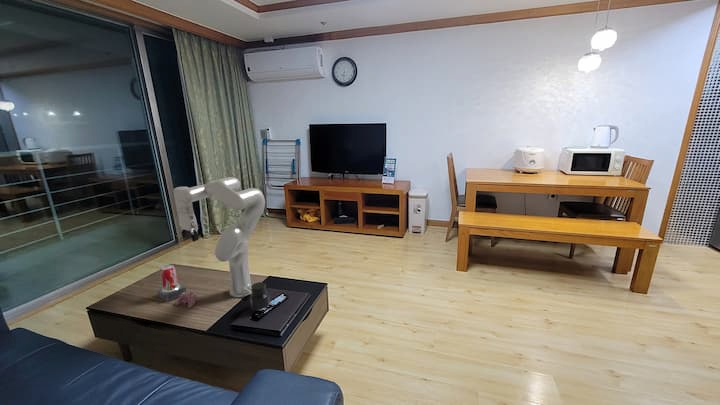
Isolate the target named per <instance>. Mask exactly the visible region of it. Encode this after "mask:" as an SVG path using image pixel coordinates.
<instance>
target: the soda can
mask: <svg viewBox="0 0 720 405" xmlns="http://www.w3.org/2000/svg"><path fill="white" fill-rule="evenodd" d="M159 273H160V274H159V275H160V280H161V284H162V286H163V288H164V289H166V290H171V289H174V288H176V287H177V286H178V283H179V279H178V274H177V270H176V267H175V266H174V265H173V264H166V265H163V266H161V267H160V271H159Z"/></svg>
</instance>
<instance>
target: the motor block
mask: <svg viewBox="0 0 720 405" xmlns="http://www.w3.org/2000/svg"><path fill="white" fill-rule="evenodd" d="M156 292H157V297H158V298H160V299H161V300H163V301H164V302H166V303H169V302H171V301H173V300H175V299H178V298H179V296H180V295H181V294H182V293H184V292H187V288H186V286H185V285H183V284H181V283H179V282H178V286H177V287H176V288H174V289H171V290H166V289H164V288H163V285H162V286H161V287H160V288H158V289H157V290H156Z"/></svg>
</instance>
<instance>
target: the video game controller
mask: <svg viewBox="0 0 720 405" xmlns="http://www.w3.org/2000/svg"><path fill="white" fill-rule="evenodd" d="M197 299H198V297H197V295H196V294H194V292H190V291H186V292H184V293H182V294H181V295H180V296H179V297H178V298H176V301H175V306H180V304H181V303H183V304H187V305H188V307H187V308H188V309H191V308H192V307H193V306H194V305H195V303H196V301H197Z"/></svg>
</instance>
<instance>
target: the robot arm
mask: <svg viewBox="0 0 720 405" xmlns="http://www.w3.org/2000/svg"><path fill="white" fill-rule="evenodd" d="M240 189H241V182H240V180H239V179H238V178H236V177H233V176H228V177H224V178H220V179H216V180H212V181H208V182H207V183H205V184H204V183H203V184H199V185H195V186H191V187H188V186H177V187H175V188H173V195H174V196H173V197H174V201H175V202H174V203H175V205H176V211H177V215H178V225H179V229H180V232H181V235H182V236H181V237H182V239H184V240H185V239H187V238H189V237H190V236H191V240H192V241H191V242H197V241H199V225H198V222H197V218H196V215H195V211H194V206H193V202H197V201H200V200H201V201H202V200H204V199H208V198H216V199H217V200H218V201H221V203H223V204H224V205H226V206H228V207H229V208H231V209H232V210H235V211H242V210H244V211H243V212H242V213H241V215H240V218H239V220H238V221H237V222H236V223H233V224H231V225H230V226H227V228H225V229H224V230H223V231H222V232H221V235H220V237H219V239H218V241H217V243H216V246H215V249H214V255H215V257H216V260H219V261H220V262H224V263H225V262H228V267H229V273H230V281H231V289H230V290H229V295H230V296H231V297H233V298H243V297H246V296H249V295H252V291H251V286H252V285H253V284H252V282H251V274H250V266H249V265H250V264H249V255H248V253H249V242H248V239H249V238H250V237H252V234H253V233H254V231H255V228H256V226H257V225H258V222H259V221H260V218H261V217H262V216H263V213H264V211H265V208H266V207H265V206H266V200H265V199H266V198H265V196H264V194H263V192H262V191H261V190H260V189H259V188H255V187H250V188H247V189H244V190H243V189H242V190H240ZM239 190H240V191H239ZM189 232H190V234H191V235H190V234H189ZM189 235H190V236H189Z"/></svg>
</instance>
